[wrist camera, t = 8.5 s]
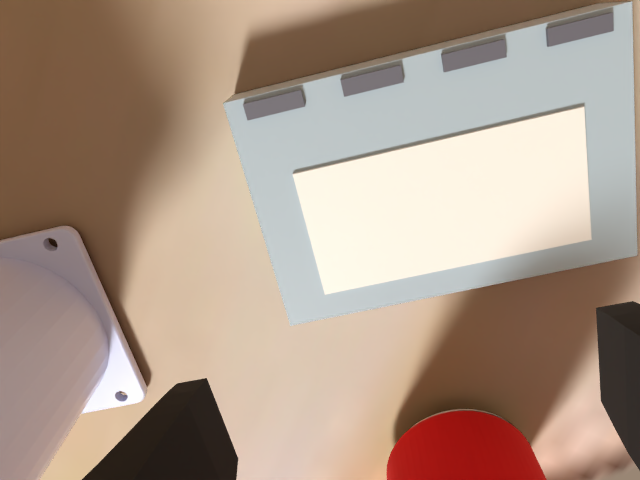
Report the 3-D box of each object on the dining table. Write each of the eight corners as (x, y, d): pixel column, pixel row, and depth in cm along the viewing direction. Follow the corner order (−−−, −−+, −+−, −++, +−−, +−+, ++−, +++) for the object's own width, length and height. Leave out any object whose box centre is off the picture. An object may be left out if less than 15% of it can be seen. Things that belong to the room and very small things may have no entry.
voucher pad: (293, 298, 21) (290, 327, 19) (233, 94, 18) (221, 103, 16) (608, 233, 20) (640, 257, 18) (599, 2, 17) (635, 0, 15)
